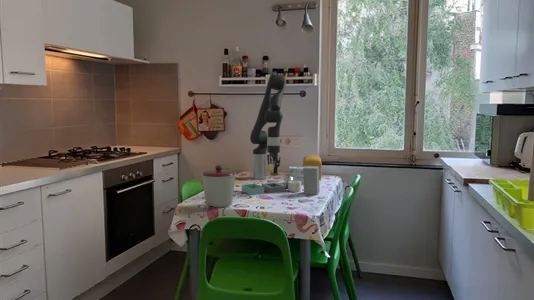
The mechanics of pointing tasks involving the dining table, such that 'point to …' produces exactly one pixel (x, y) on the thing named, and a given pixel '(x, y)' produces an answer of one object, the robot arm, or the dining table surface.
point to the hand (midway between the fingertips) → (273, 172)
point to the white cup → (294, 186)
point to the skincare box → (311, 180)
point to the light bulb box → (296, 174)
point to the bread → (313, 162)
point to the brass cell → (272, 170)
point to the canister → (218, 186)
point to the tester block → (273, 187)
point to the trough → (252, 189)
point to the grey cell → (287, 181)
